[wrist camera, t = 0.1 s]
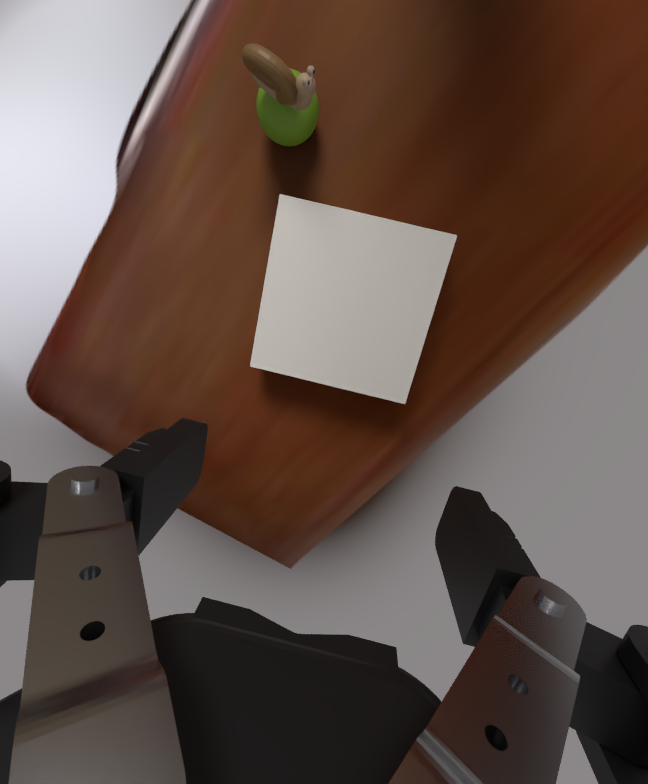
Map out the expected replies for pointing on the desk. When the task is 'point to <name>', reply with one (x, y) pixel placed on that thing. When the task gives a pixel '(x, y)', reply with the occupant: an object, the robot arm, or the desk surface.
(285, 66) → the snail figurine
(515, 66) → the desk surface
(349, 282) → the cream block
